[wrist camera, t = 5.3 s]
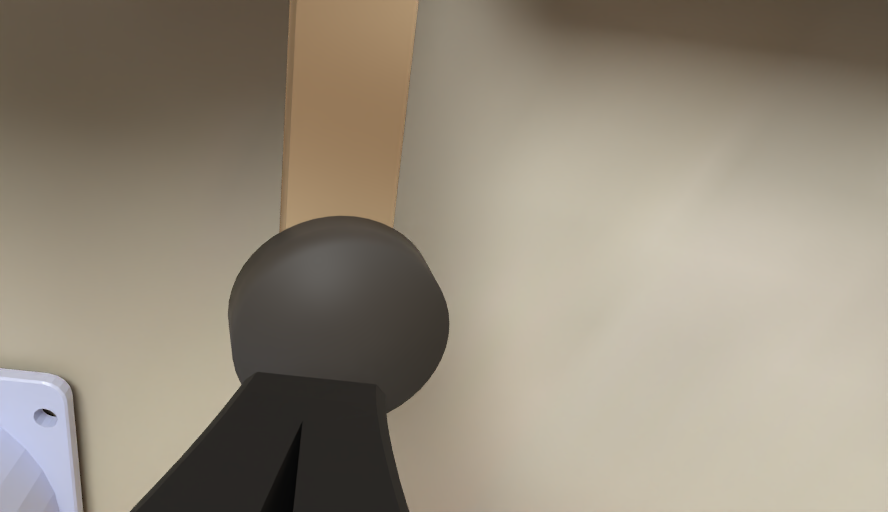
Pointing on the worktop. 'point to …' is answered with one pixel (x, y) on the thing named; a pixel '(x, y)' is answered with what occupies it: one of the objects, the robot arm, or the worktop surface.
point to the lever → (342, 215)
